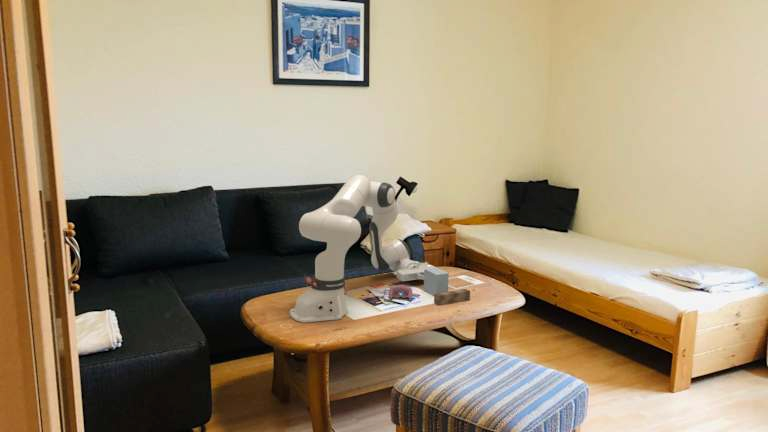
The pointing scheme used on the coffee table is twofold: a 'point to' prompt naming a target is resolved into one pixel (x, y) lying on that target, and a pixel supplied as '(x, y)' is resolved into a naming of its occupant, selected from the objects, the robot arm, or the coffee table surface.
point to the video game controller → (400, 288)
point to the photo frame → (468, 279)
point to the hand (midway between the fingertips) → (426, 278)
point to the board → (451, 297)
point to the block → (435, 281)
